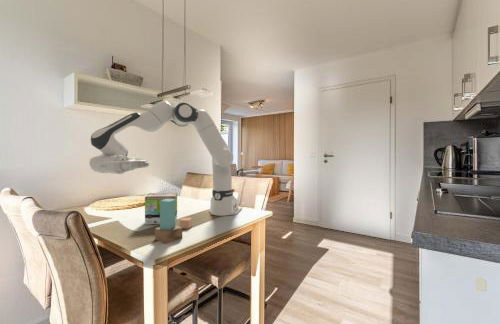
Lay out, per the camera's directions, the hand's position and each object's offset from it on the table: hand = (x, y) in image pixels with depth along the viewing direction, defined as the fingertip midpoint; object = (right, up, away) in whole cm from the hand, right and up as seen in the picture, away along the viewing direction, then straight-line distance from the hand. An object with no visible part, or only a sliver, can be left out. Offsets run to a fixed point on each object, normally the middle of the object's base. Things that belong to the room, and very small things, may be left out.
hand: (140, 164), depth 111 cm
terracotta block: (+19, -31, +10) cm, 37 cm away
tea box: (+4, -31, +18) cm, 35 cm away
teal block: (+15, -27, -7) cm, 31 cm away
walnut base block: (+15, -32, -6) cm, 36 cm away
